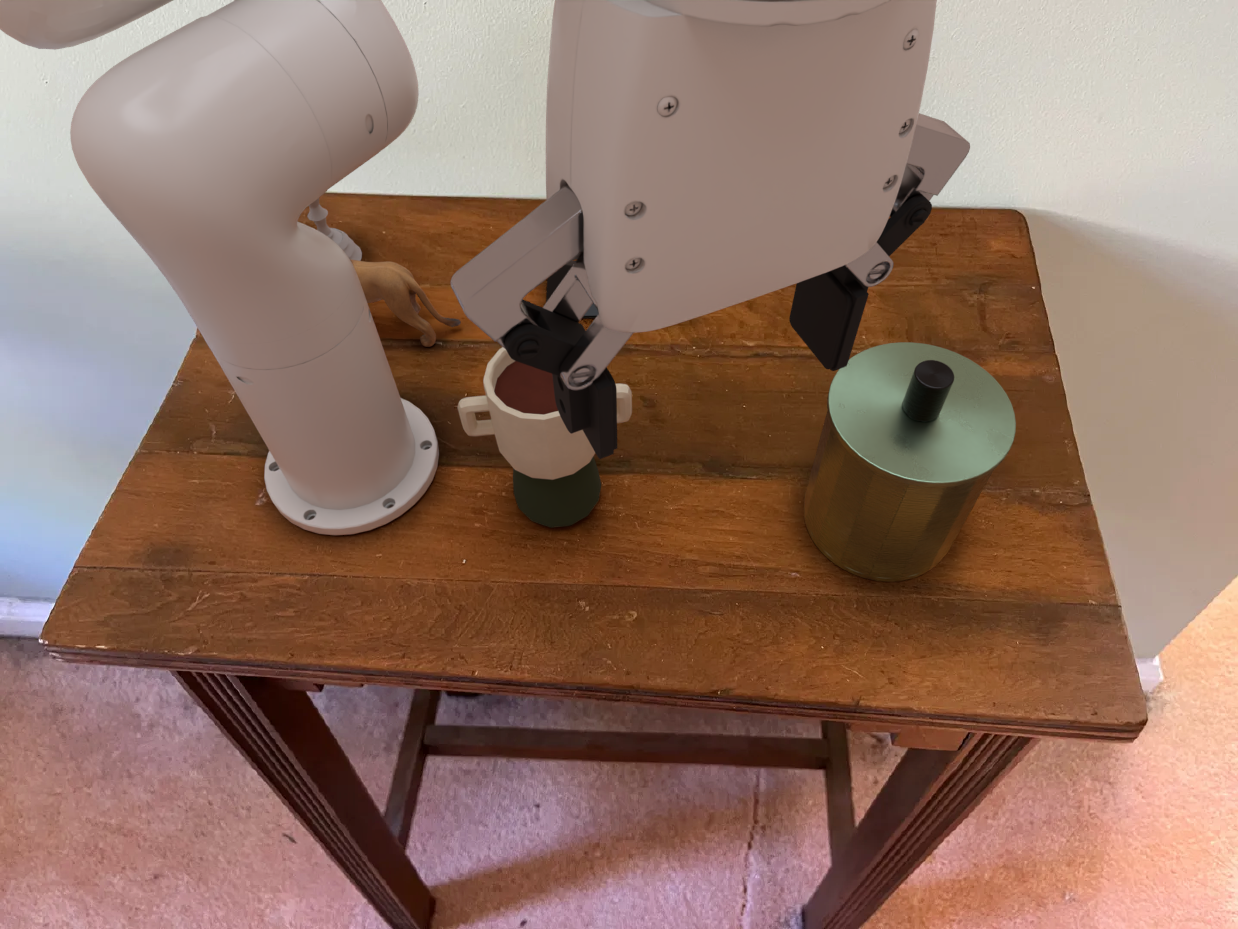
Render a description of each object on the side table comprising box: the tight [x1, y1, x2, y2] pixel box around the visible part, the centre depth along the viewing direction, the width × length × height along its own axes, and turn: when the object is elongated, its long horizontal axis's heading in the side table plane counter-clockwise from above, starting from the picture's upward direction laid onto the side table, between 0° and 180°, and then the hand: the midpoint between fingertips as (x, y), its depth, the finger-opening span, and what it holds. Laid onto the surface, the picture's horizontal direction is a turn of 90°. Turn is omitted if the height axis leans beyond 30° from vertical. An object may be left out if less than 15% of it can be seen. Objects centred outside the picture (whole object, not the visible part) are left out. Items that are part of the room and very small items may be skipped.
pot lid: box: [826, 341, 1017, 487], centre depth 50 cm, size 11×11×4 cm
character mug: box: [456, 346, 633, 529], centre depth 57 cm, size 11×7×13 cm, turn 96°
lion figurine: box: [350, 259, 462, 348], centre depth 70 cm, size 15×5×9 cm, turn 88°
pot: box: [803, 409, 994, 583], centre depth 56 cm, size 10×10×12 cm
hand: (707, 385), depth 33 cm, fingers open, 9 cm apart
